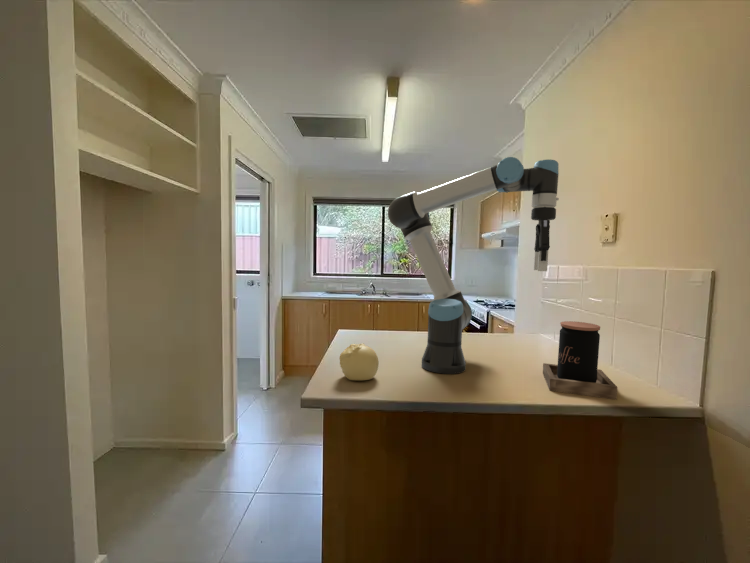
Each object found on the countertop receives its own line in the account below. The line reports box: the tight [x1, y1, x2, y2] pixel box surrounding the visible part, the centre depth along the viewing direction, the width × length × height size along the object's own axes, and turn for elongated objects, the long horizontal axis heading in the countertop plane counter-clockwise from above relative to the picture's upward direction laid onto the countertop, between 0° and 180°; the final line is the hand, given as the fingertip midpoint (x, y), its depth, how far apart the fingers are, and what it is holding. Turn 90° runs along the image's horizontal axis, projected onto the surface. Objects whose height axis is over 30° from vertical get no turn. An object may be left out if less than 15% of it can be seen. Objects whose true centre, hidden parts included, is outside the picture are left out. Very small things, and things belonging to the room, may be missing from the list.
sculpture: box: [339, 343, 379, 381], centre depth 111 cm, size 11×12×11 cm
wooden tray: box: [542, 362, 618, 400], centre depth 111 cm, size 17×17×4 cm
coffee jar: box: [557, 320, 601, 383], centre depth 110 cm, size 11×11×18 cm
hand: (540, 270), depth 122 cm, fingers open, 13 cm apart
